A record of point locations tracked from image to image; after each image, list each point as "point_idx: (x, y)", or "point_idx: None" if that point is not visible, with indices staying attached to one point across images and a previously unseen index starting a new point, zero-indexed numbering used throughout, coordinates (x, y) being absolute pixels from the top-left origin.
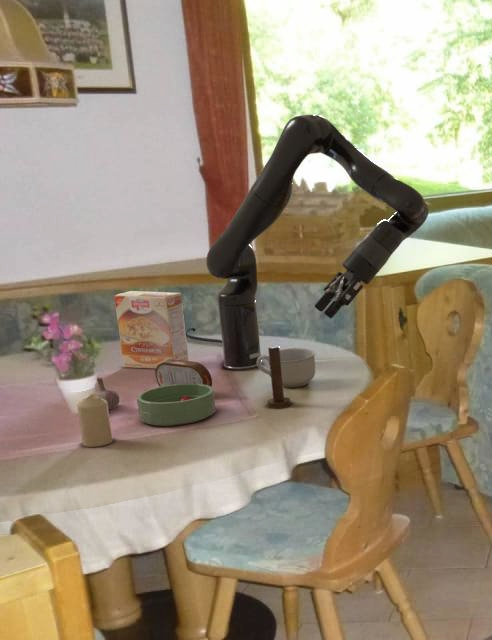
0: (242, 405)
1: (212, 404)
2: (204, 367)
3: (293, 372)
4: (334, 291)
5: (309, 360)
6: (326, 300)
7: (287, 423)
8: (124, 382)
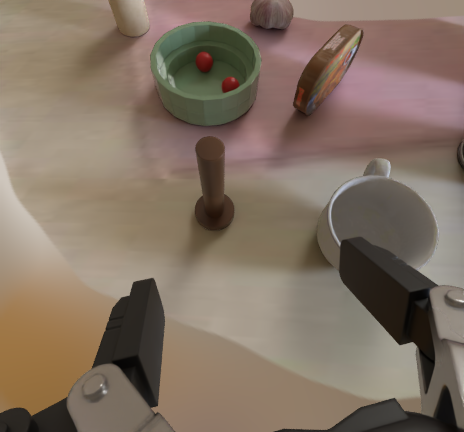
0: (235, 160)
1: (188, 112)
2: (317, 78)
3: (320, 230)
4: (432, 389)
5: None
6: (387, 306)
7: (98, 222)
8: (398, 33)
